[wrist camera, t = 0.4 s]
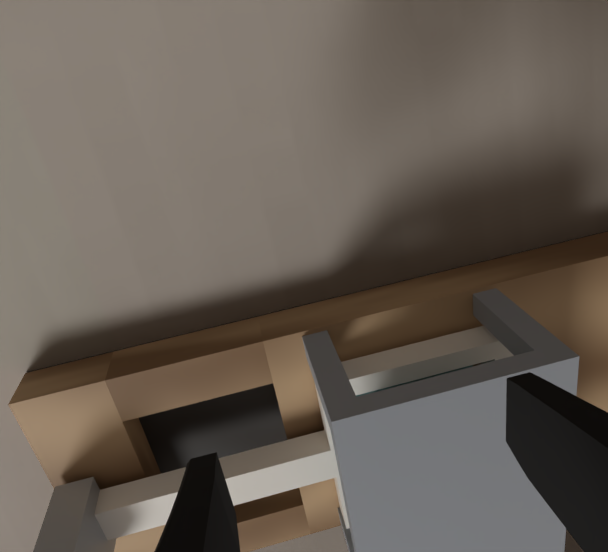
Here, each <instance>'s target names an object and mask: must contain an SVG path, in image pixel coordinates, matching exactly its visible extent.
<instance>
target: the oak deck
mask: <svg viewBox="0 0 608 552" xmlns="http://www.w3.org/2000/svg"><path fill="white" fill-rule="evenodd" d="M494 288H497V289H498V290H499V291H500V292H502V293H503V294H504V295H505V296H506V297H508V298H509V299H510V300H511V301H513V302H514V303H515V304H516V305H517V306H519V307H520V308H521V309H522V310H524V311H525V312H526V313H527V314H528V315H530V316H531V317H532V318H533V319H535V320H536V321H537V322H538V323H539V324H541V325H542V326H543V327H544V328H546V329H547V330H548V331H549V332H550V333H552V334H553V335H554V336H555V337H557V338H558V339H559V340H560V341H561V342H563V343H564V344H565V345H566V346H568V347H569V348H570V349H571V350H572V351H574V352H575V353H576V354H577V355H579V368H578V381H577V394H576V396H577V397H579V398H581V399H583V400H585V401H586V402H588V403H590V404H592V405H594V406H596V407H598V408H600V409H602V410H604V411H606V412H608V232H603V233H599V234H595V235H591V236H587V237H583V238H579V239H575V240H571V241H566V242H562V243H558V244H554V245H550V246H546V247H542V248H538V249H534V250H529V251H525V252H521V253H517V254H513V255H509V256H505V257H501V258H497V259H492V260H488V261H484V262H480V263H476V264H472V265H468V266H464V267H460V268H455V269H451V270H447V271H443V272H439V273H435V274H431V275H427V276H423V277H418V278H414V279H410V280H406V281H402V282H398V283H394V284H390V285H386V286H381V287H377V288H373V289H369V290H365V291H361V292H357V293H353V294H349V295H344V296H340V297H336V298H332V299H328V300H324V301H320V302H316V303H312V304H307V305H303V306H299V307H295V308H291V309H287V310H283V311H279V312H275V313H270V314H266V315H262V316H258V317H254V318H250V319H246V320H242V321H238V322H233V323H229V324H225V325H221V326H217V327H213V328H209V329H205V330H201V331H196V332H192V333H188V334H184V335H180V336H176V337H172V338H168V339H164V340H159V341H155V342H151V343H147V344H143V345H139V346H135V347H131V348H127V349H122V350H118V351H114V352H110V353H106V354H102V355H98V356H94V357H90V358H85V359H81V360H77V361H73V362H69V363H65V364H61V365H57V366H53V367H48V368H44V369H40V370H36V371H32V372H28V373H25V375H24V377H23V379H22V380H21V382H20V384H19V386H18V388H17V390H16V391H15V393H14V395H13V397H12V399H11V401H10V402H9V404H8V405H9V407H10V409H11V410H12V412H13V414H14V416H15V418H16V420H17V422H18V423H19V425H20V427H21V429H22V431H23V433H24V434H25V436H26V438H27V440H28V442H29V444H30V445H31V447H32V449H33V451H34V453H35V455H36V456H37V458H38V460H39V462H40V464H41V466H42V467H43V469H44V471H45V473H46V475H47V477H48V479H49V480H50V482H51V484H52V486H53V488H54V489H55V487H56V486H60V485H64V484H67V483H71V482H75V481H79V480H83V479H86V478H90V477H94V479H95V481H96V483H97V485H98V487H99V489H100V490H102V489H105V488H109V487H113V486H117V485H120V484H124V483H128V482H132V481H135V480H139V479H143V478H147V477H150V476H154V475H158V474H162V473H165V472H169V471H173V470H177V469H180V468H184V467H186V466H187V463H188V462H189V460H190V459H192V458H196V457H200V456H203V455H207V454H211V453H215V452H217V455H218V458H222V457H225V456H229V455H233V454H237V453H240V452H244V451H248V450H252V449H255V448H259V447H263V446H267V445H270V444H274V443H278V442H282V441H285V440H289V439H293V438H297V437H300V436H304V435H308V434H311V433H315V432H319V431H323V430H324V426H323V421H322V416H321V411H320V407H319V402H318V397H317V392H316V387H315V382H314V379H313V376H312V373H311V370H310V367H309V364H308V361H307V358H306V353H305V349H304V344H303V339H302V336H305V335H309V334H313V333H317V332H321V331H325V330H327V331H328V334H329V336H330V338H331V340H332V343H333V345H334V347H335V349H336V352H337V354H338V356H339V359H340V361H341V362H343V361H347V360H351V359H355V358H359V357H363V356H367V355H370V354H374V353H378V352H382V351H386V350H390V349H394V348H398V347H402V346H406V345H410V344H414V343H417V342H421V341H425V340H429V339H433V338H437V337H441V336H445V335H449V334H453V333H457V332H461V331H464V330H468V329H472V328H476V327H480V326H484V325H483V324H482V323H481V322H480V321H478V320H477V319H476V318H475V317H474V316H473V294H474V293H478V292H482V291H486V290H490V289H494ZM477 365H480V363H478V364H474V365H472V366H477ZM339 507H340V505H339V500H338V495H337V490H336V485H335V480H334V478H332V479H329V480H325V481H321V482H318V483H314V484H311V485H307V486H303V487H300V488H296V489H292V490H289V491H285V492H282V493H278V494H274V495H271V496H267V497H263V498H260V499H256V500H253V501H249V502H245V503H242V504H238V505H234V509H235V512H236V519H237V527H238V535H239V544H240V552H249V551H253V550H256V549H260V548H263V547H267V546H270V545H274V544H277V543H281V542H284V541H288V540H291V539H295V538H298V537H302V536H305V535H309V534H312V533H316V532H319V531H323V530H326V529H330V528H333V527H337V526H340V525H341V523H340V518H339V513H338V508H339ZM164 527H165V525H162V526H158V527H155V528H151V529H148V530H144V531H140V532H137V533H133V534H129V535H126V536H122V537H119V538H116V544H115V549H114V552H154V551H155V549H156V547H157V544H158V542H159V540H160V537H161V535H162V532H163V530H164Z"/></svg>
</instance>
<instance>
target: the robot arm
mask: <svg viewBox="0 0 608 552" xmlns="http://www.w3.org/2000/svg"><path fill="white" fill-rule="evenodd" d="M506 442H507V444H508V446H509V448H510V449H511V451H512V453H513V455H514V456H515V458H516V460H517V461H518V463H519V465H520V466H521V468H522V470H523V471H524V473H525V474H526V476H527V478H528V479H529V481H530V482H531V483H532V485H533V486H534V487H535V489H536V490H537V491H538V492H539V494H540V495H541V496H542V498H543V499H544V500H545V502H546V503H547V504H548V506H549V507H550V508H551V509H552V511H553V512H554V513H555V515H556V516H557V517H558V518H559V520H560V521H561V522H562V524H563V525H564V526H565V527H566V529H567V530H568V531H569V533H570V534H571V535H572V536H573V538H574V539H575V540H576V542H577V543H578V544H579V545H580V547H581V548H582V549H583V551H584V552H608V412H606V411H604V410H602V409H600V408H598V407H596V406H594V405H592V404H590V403H588V402H586V401H585V400H583V399H581V398H579V397H577V396H575V395H573V394H571V393H569V392H567V391H566V390H564V389H562V388H560V387H558V386H556V385H554V384H552V383H550V382H549V381H547V380H545V379H543V378H541V377H539V376H537V375H535V374H533V373H531V372H528V373H524V374H520V375H517V376H513V377H509V378H507V387H506ZM154 552H240V544H239V535H238V527H237V519H236V512H235V509H234V506H233V503H232V499H231V496H230V493H229V490H228V487H227V484H226V480H225V477H224V474H223V471H222V468H221V464H220V461H219V458H218V455H217V452H215V453H211V454H207V455H203V456H200V457H196V458H192V459H190V460H189V462H188V463H187V466H186V469H185V472H184V476H183V479H182V482H181V485H180V488H179V491H178V494H177V496H176V499H175V502H174V505H173V507H172V510H171V513H170V515H169V518H168V520H167V522H166V525H165V527H164V530H163V532H162V535H161V537H160V540H159V542H158V544H157V547H156V549H155V551H154Z"/></svg>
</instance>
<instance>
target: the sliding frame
mask: <svg viewBox="0 0 608 552" xmlns="http://www.w3.org/2000/svg"><path fill="white" fill-rule="evenodd" d="M511 356H514V355H513V354H512V353H511V352H510V351H509V350H508V349H507V348H506V347H505V346H504V345H503V344H502V343H501V342H500V341H499V340H498V339H497V338H496V337H495V336H494V335H493V334H492V333H491V332H490V331H489V330H488V329H487V328H486V327H485V326H480V327H476V328H472V329H468V330H464V331H461V332H457V333H453V334H449V335H445V336H441V337H437V338H433V339H429V340H425V341H421V342H417V343H414V344H410V345H406V346H402V347H398V348H394V349H390V350H386V351H382V352H378V353H374V354H370V355H367V356H363V357H359V358H355V359H351V360H347V361H343V362H341V363H342V365H343V368H344V370H345V372H346V374H347V377H348V379H349V381H350V384H351V386H352V388H353V390H354V393H355V395H360V394H364V393H368V392H371V391H375V390H379V389H383V388H387V387H390V386H394V385H398V384H402V383H406V382H410V381H413V380H417V379H421V378H425V377H429V376H432V375H436V374H440V373H444V372H448V371H451V370H455V369H459V368H463V367H467V366H471V365H474V364H478V363H480V364H484V363H488V362H492V361H496V360H499V359H503V358H507V357H511ZM315 387H316V385H315ZM316 392H317V397H318V402H319V407H320V411H321V416H322V421H323V426H324V430H323V431H319V432H315V433H311V434H308V435H304V436H300V437H297V438H293V439H289V440H285V441H282V442H278V443H274V444H270V445H267V446H263V447H259V448H255V449H252V450H248V451H244V452H240V453H237V454H233V455H229V456H225V457H222V458H219V461H220V464H221V468H222V471H223V474H224V477H225V480H226V484H227V487H228V490H229V493H230V496H231V499H232V503H233V506H234V505H238V504H242V503H245V502H249V501H253V500H256V499H260V498H263V497H267V496H271V495H274V494H278V493H282V492H285V491H289V490H292V489H296V488H300V487H303V486H307V485H311V484H314V483H318V482H321V481H325V480H329V479H332V478H334V480H335V485H336V490H337V495H338V500H339V505H340V509H341V512H342V515H343V519H344V522H345V525H346V529H348V528H350V527H349V522H348V517H347V511H346V506H345V501H344V496H343V491H342V486H341V481H340V476H339V471H338V466H337V461H336V456H335V450H334V445H333V440H332V435H331V430H330V427H329V424H328V421H327V418H326V415H325V412H324V409H323V406H322V403H321V400H320V397H319V394H318V391H317V388H316ZM185 469H186V467H184V468H180V469H177V470H173V471H169V472H165V473H162V474H158V475H154V476H150V477H147V478H143V479H139V480H135V481H132V482H128V483H124V484H120V485H117V486H113V487H109V488H105V489H102V490H100V489H99V487H98V485H97V483H96V481H95V479H94V477H90V478H86V479H83V480H79V481H75V482H71V483H67V484H64V485H60V486H56V487H55V489H54V492H53V494H52V497H51V500H50V503H49V506H48V509H47V512H46V515H45V518H44V521H43V524H42V527H41V530H40V533H39V536H38V539H37V542H36V545H35V548H34V551H33V552H114V549H115V544H116V538H119V537H122V536H126V535H129V534H133V533H137V532H140V531H144V530H148V529H151V528H155V527H158V526H162V525H166V522H167V520H168V518H169V515H170V513H171V510H172V507H173V505H174V502H175V499H176V496H177V494H178V491H179V488H180V485H181V482H182V479H183V476H184V472H185Z"/></svg>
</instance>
